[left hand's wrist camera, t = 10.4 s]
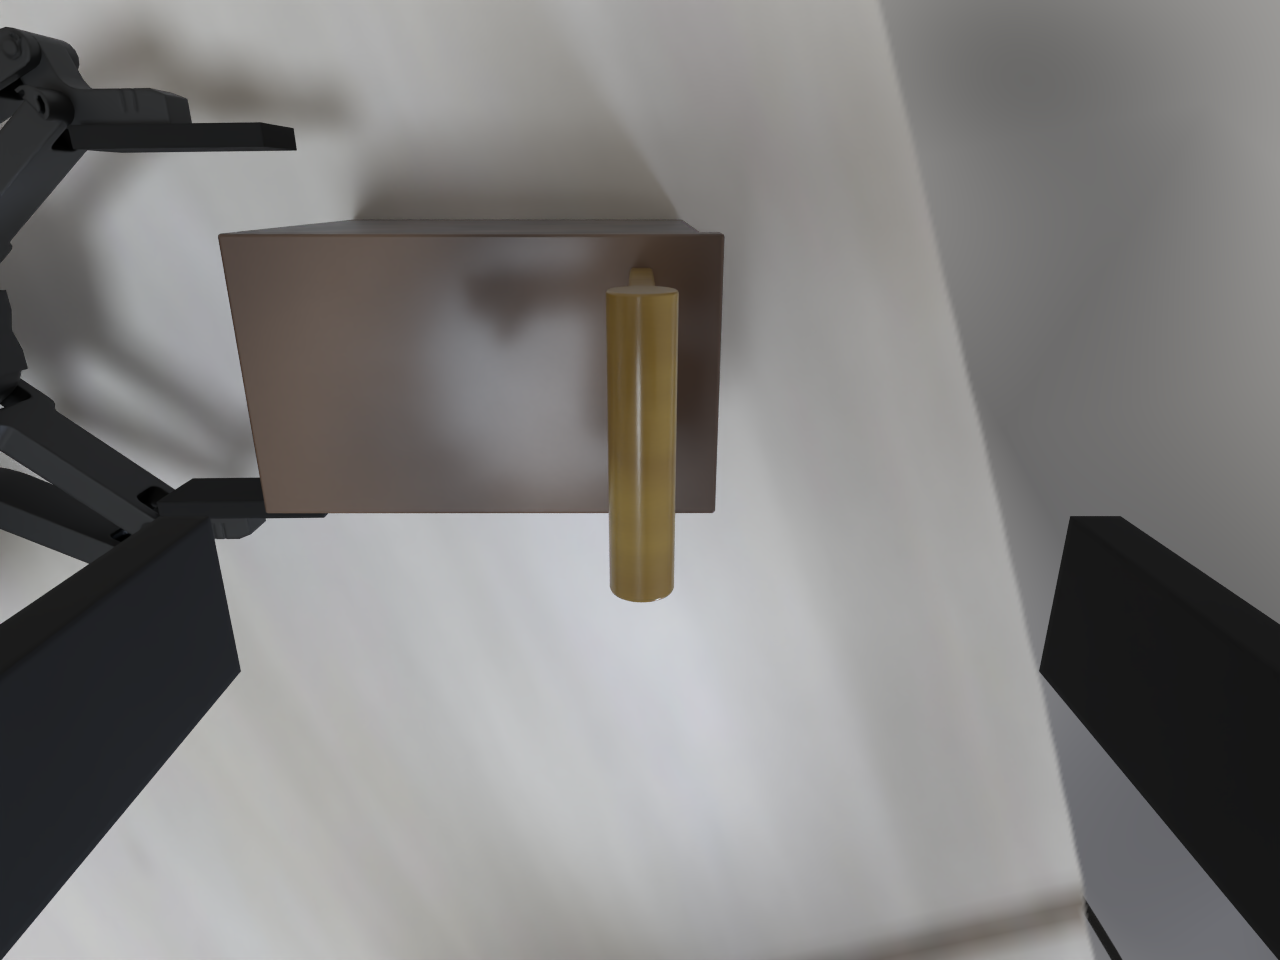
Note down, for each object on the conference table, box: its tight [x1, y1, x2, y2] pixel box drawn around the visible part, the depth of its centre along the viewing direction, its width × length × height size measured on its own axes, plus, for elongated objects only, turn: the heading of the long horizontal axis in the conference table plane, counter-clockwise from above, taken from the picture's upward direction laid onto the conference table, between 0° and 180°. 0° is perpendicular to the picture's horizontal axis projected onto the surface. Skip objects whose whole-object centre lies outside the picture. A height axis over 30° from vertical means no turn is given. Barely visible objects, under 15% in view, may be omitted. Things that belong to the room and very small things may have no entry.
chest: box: [241, 220, 699, 232], centre depth 32 cm, size 15×9×11 cm, turn 90°
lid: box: [218, 232, 724, 602], centre depth 23 cm, size 15×9×9 cm, turn 90°
